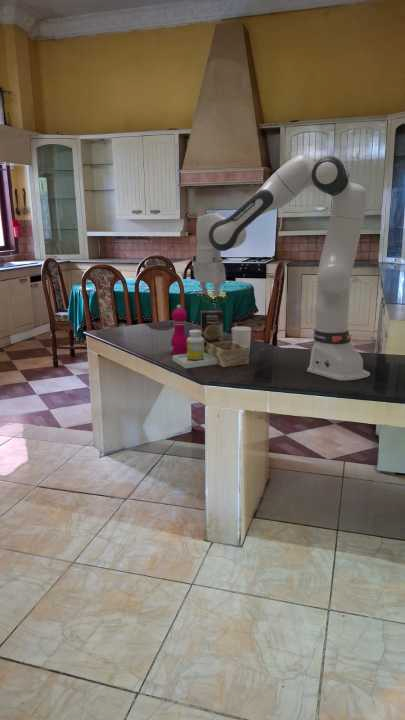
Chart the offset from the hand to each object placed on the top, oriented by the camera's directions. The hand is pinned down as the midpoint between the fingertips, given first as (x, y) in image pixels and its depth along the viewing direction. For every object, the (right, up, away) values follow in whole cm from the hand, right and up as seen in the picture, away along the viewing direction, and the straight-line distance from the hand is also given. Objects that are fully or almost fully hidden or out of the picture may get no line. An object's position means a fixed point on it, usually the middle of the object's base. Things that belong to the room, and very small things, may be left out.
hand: (210, 294), depth 203 cm
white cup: (+13, -22, +17) cm, 31 cm away
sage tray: (-6, -26, +2) cm, 26 cm away
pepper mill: (-12, -22, +16) cm, 30 cm away
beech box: (+7, -25, +3) cm, 26 cm away
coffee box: (+1, -20, +23) cm, 31 cm away
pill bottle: (-5, -25, +1) cm, 26 cm away
